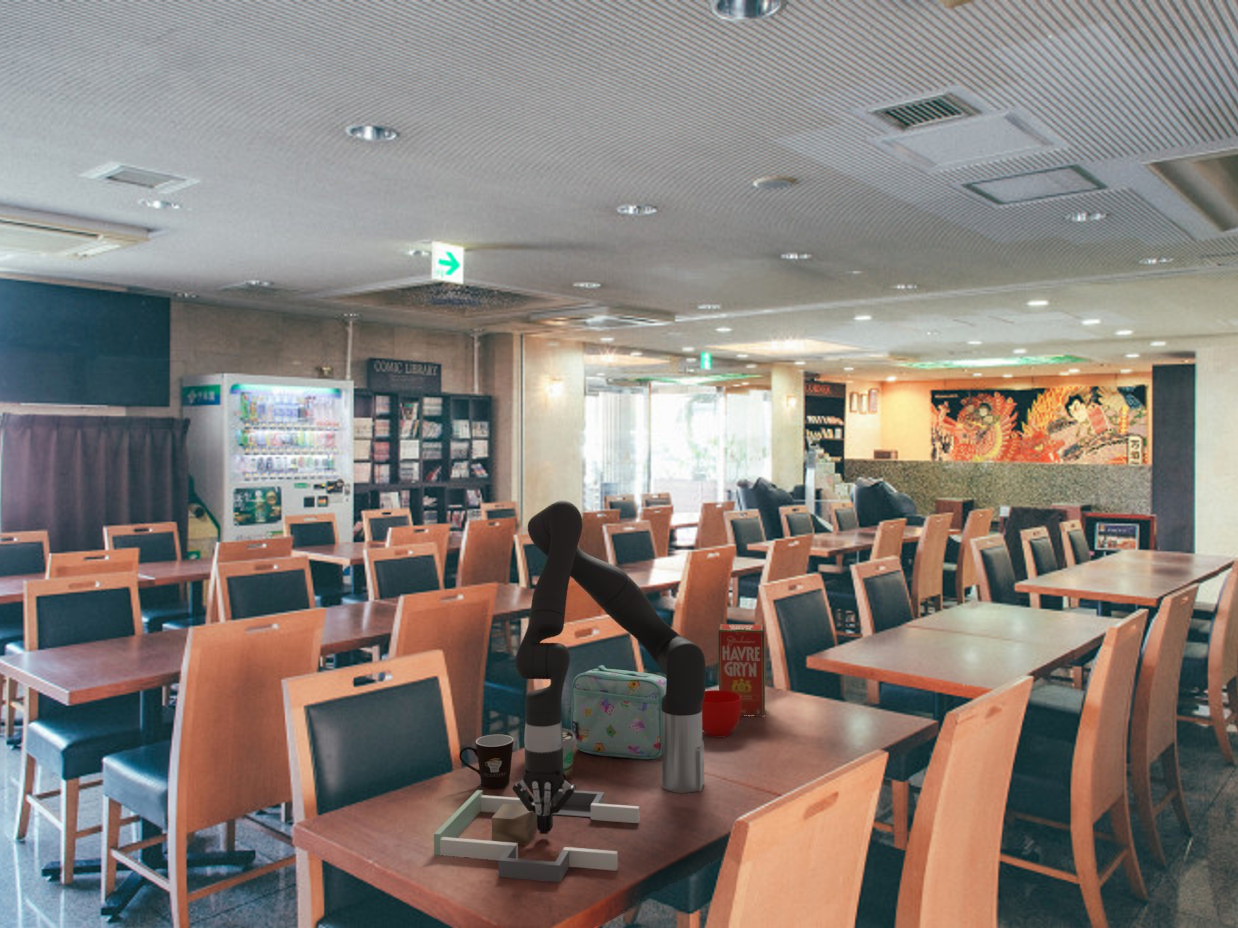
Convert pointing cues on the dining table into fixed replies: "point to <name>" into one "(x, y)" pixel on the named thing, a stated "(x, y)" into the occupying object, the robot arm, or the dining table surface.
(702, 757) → the robot arm
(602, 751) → the lunch box
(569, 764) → the food container
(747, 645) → the food packaging
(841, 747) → the dining table surface
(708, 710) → the ceramic cup
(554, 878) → the track
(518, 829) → the walnut block
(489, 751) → the coffee mug
